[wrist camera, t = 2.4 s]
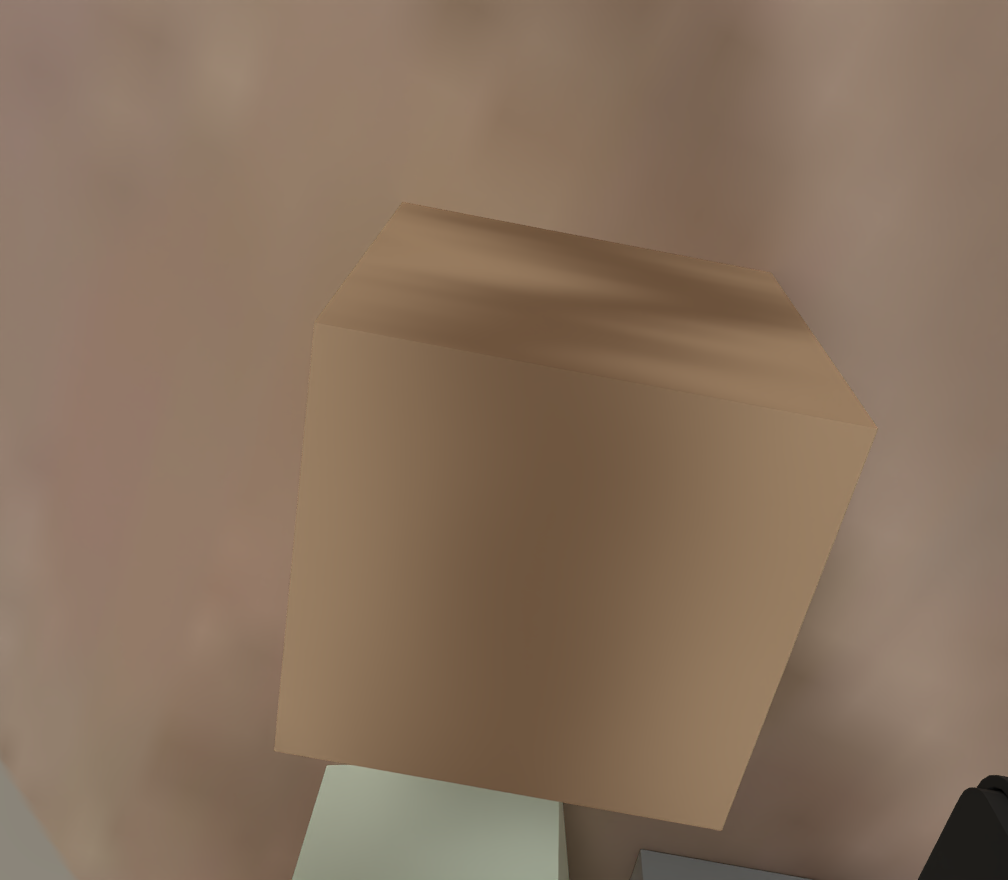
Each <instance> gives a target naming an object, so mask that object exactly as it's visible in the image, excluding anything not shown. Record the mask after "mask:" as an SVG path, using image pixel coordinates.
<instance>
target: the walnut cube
mask: <svg viewBox="0 0 1008 880" xmlns="http://www.w3.org/2000/svg"><path fill="white" fill-rule="evenodd" d="M877 430H878V428H877V426H876V425H875V423H874V422H873V421H872V419H871V418H870V416H869V415H868V413H867V412H866V410H865V409H864V407H863V406H862V405H861V403H860V402H859V400H858V399H857V397H856V396H855V394H854V393H853V391H852V390H851V389H850V387H849V386H848V384H847V383H846V381H845V380H844V378H843V377H842V375H841V374H840V372H839V371H838V370H837V368H836V367H835V365H834V364H833V362H832V361H831V359H830V358H829V356H828V355H827V354H826V352H825V351H824V349H823V348H822V346H821V345H820V343H819V342H818V340H817V339H816V338H815V336H814V335H813V333H812V332H811V330H810V329H809V327H808V326H807V324H806V323H805V322H804V320H803V319H802V317H801V316H800V314H799V313H798V311H797V310H796V308H795V307H794V305H793V304H792V303H791V301H790V300H789V298H788V297H787V295H786V294H785V292H784V291H783V289H782V288H781V287H780V285H779V284H778V282H777V281H776V279H775V278H774V276H773V275H772V273H770V272H765V271H760V270H754V269H749V268H744V267H739V266H734V265H728V264H723V263H718V262H713V261H708V260H702V259H697V258H692V257H687V256H681V255H676V254H671V253H666V252H661V251H655V250H650V249H645V248H640V247H635V246H629V245H624V244H619V243H614V242H608V241H603V240H598V239H593V238H588V237H582V236H577V235H572V234H567V233H562V232H556V231H551V230H546V229H541V228H536V227H530V226H525V225H520V224H515V223H509V222H504V221H499V220H494V219H489V218H483V217H478V216H473V215H468V214H463V213H457V212H452V211H447V210H442V209H436V208H431V207H426V206H421V205H416V204H410V203H405V202H402V203H401V205H400V206H399V208H398V209H397V210H396V212H395V213H394V214H393V216H392V217H391V218H390V220H389V221H388V223H387V224H386V225H385V227H384V228H383V229H382V231H381V232H380V233H379V235H378V236H377V238H376V239H375V240H374V242H373V243H372V244H371V246H370V247H369V248H368V250H367V251H366V253H365V254H364V255H363V257H362V258H361V259H360V261H359V262H358V263H357V265H356V266H355V268H354V269H353V270H352V272H351V273H350V274H349V276H348V277H347V278H346V280H345V281H344V283H343V284H342V285H341V287H340V288H339V289H338V291H337V292H336V293H335V295H334V296H333V298H332V299H331V300H330V302H329V303H328V304H327V306H326V307H325V308H324V310H323V311H322V313H321V314H320V315H319V317H318V318H317V319H316V321H315V322H314V329H313V340H312V351H311V361H310V372H309V383H308V393H307V404H306V414H305V425H304V436H303V446H302V457H301V468H300V478H299V489H298V500H297V510H296V521H295V531H294V542H293V553H292V563H291V574H290V585H289V595H288V606H287V616H286V627H285V638H284V648H283V659H282V670H281V680H280V691H279V701H278V712H277V723H276V733H275V744H274V751H276V752H281V753H287V754H292V755H298V756H304V757H309V758H315V759H321V760H326V761H332V762H338V763H343V764H349V765H354V766H360V767H366V768H371V769H377V770H383V771H388V772H394V773H399V774H405V775H411V776H416V777H422V778H428V779H433V780H439V781H444V782H450V783H456V784H461V785H467V786H473V787H478V788H484V789H489V790H495V791H501V792H506V793H512V794H518V795H523V796H529V797H534V798H540V799H546V800H551V801H557V802H563V803H568V804H574V805H579V806H585V807H591V808H596V809H602V810H608V811H613V812H619V813H624V814H630V815H636V816H641V817H647V818H653V819H658V820H664V821H669V822H675V823H681V824H686V825H692V826H698V827H703V828H709V829H714V830H720V831H722V829H723V826H724V824H725V821H726V818H727V816H728V813H729V811H730V808H731V806H732V803H733V800H734V798H735V795H736V793H737V790H738V788H739V785H740V782H741V780H742V777H743V775H744V772H745V770H746V767H747V764H748V762H749V759H750V757H751V754H752V752H753V749H754V746H755V744H756V741H757V739H758V736H759V734H760V731H761V728H762V726H763V723H764V721H765V718H766V716H767V713H768V710H769V708H770V705H771V703H772V700H773V698H774V695H775V692H776V690H777V687H778V685H779V682H780V680H781V677H782V674H783V672H784V669H785V667H786V664H787V662H788V659H789V656H790V654H791V651H792V649H793V646H794V644H795V641H796V638H797V636H798V633H799V631H800V628H801V626H802V623H803V620H804V618H805V615H806V613H807V610H808V608H809V605H810V602H811V600H812V597H813V595H814V592H815V590H816V587H817V584H818V582H819V579H820V577H821V574H822V572H823V569H824V566H825V564H826V561H827V559H828V556H829V554H830V551H831V548H832V546H833V543H834V541H835V538H836V536H837V533H838V530H839V528H840V525H841V523H842V520H843V518H844V515H845V512H846V510H847V507H848V505H849V502H850V500H851V497H852V494H853V492H854V489H855V487H856V484H857V482H858V479H859V476H860V474H861V471H862V469H863V466H864V464H865V461H866V458H867V456H868V453H869V451H870V448H871V446H872V443H873V441H874V438H875V435H876V433H877Z"/></svg>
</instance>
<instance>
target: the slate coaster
mask: <svg viewBox="0 0 1008 880" xmlns="http://www.w3.org/2000/svg"><path fill="white" fill-rule="evenodd" d="M630 880H811V879H806V878H800V877H794V876H789V875H783V874H778V873H772V872H766V871H761V870H755V869H749V868H744V867H738V866H732V865H727V864H721V863H716V862H710V861H704V860H699V859H693V858H687V857H682V856H676V855H670V854H665V853H659V852H654V851H648V850H642V849H640V852H639V855H638V858H637V861H636V864H635V867H634V870H633V873H632V876H631V879H630Z"/></svg>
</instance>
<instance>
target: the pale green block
mask: <svg viewBox="0 0 1008 880" xmlns="http://www.w3.org/2000/svg"><path fill="white" fill-rule="evenodd" d="M292 880H569V871H568V859H567V846H566V834H565V822H564V810H563V802H557V801H551V800H546V799H540V798H534V797H529V796H523V795H518V794H512V793H506V792H501V791H495V790H489V789H484V788H478V787H473V786H467V785H461V784H456V783H450V782H444V781H439V780H433V779H428V778H422V777H416V776H411V775H405V774H399V773H394V772H388V771H383V770H377V769H371V768H366V767H360V766H354V765H327V767H326V770H325V773H324V776H323V780H322V783H321V786H320V790H319V793H318V796H317V799H316V803H315V806H314V809H313V812H312V816H311V819H310V822H309V825H308V829H307V832H306V835H305V839H304V842H303V845H302V848H301V852H300V855H299V858H298V861H297V865H296V868H295V871H294V875H293V878H292Z"/></svg>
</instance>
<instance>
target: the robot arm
mask: <svg viewBox="0 0 1008 880" xmlns="http://www.w3.org/2000/svg"><path fill="white" fill-rule="evenodd" d="M918 880H1008V777H1005V776H999V775H989V776H988V777H986V778H985V779H983V780H982V781H981V782H980V784H979V785H978V786H977V788H968V789H966V790H965V791H964V792H963V793H962V795H961V796H960V798H959V800H958V802H957V804H956V806H955V808H954V809H953V811H952V813H951V815H950V817H949V819H948V821H947V823H946V825H945V827H944V829H943V831H942V833H941V835H940V837H939V839H938V841H937V843H936V845H935V847H934V849H933V851H932V853H931V855H930V857H929V859H928V861H927V863H926V865H925V867H924V868H923V870H922V872H921V874H920V876H919V878H918Z"/></svg>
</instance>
